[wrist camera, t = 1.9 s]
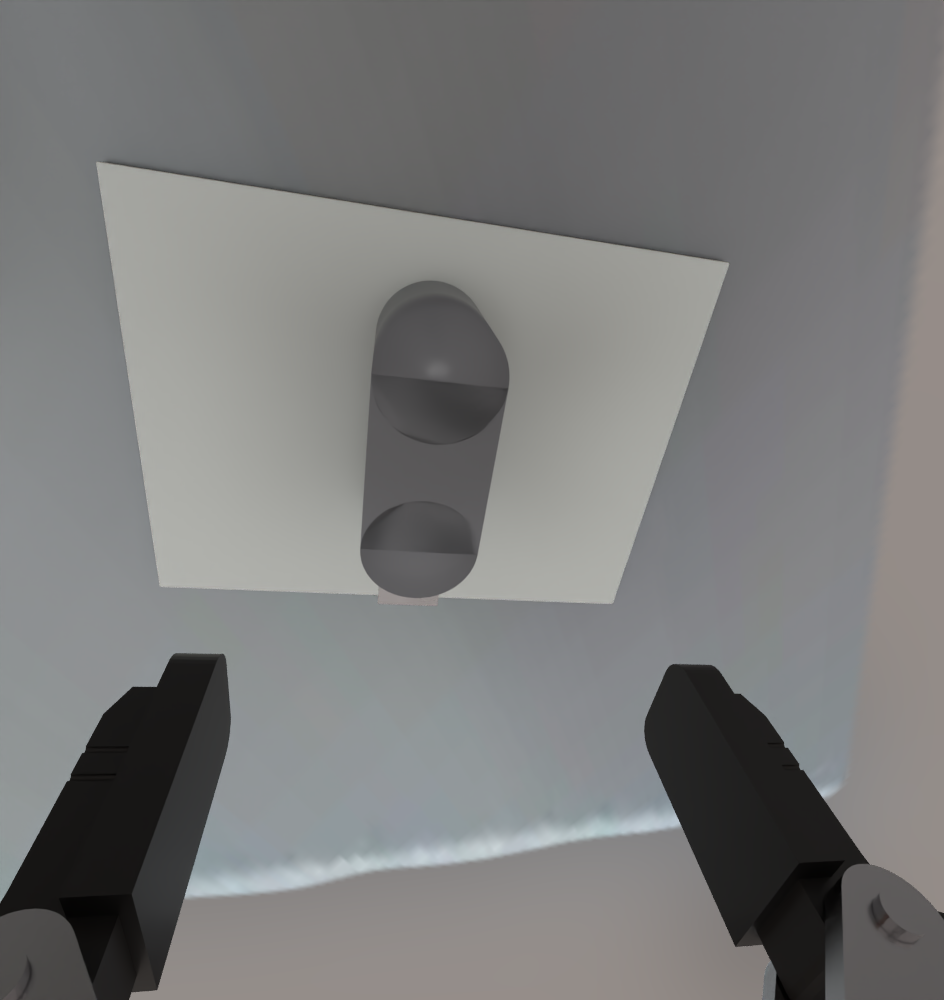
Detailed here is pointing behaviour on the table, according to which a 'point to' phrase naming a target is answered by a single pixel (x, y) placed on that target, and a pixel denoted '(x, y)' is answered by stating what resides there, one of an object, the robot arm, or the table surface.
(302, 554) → the rubber mat
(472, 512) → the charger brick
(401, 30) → the table surface
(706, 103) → the table surface
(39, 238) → the table surface
